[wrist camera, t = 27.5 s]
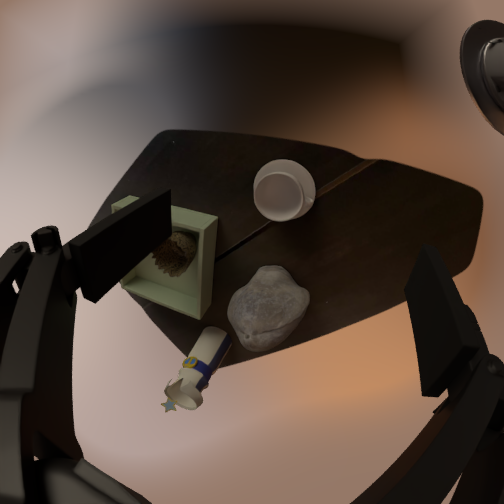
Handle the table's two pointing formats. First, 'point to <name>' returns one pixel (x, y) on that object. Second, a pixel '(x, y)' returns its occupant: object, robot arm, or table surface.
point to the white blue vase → (198, 369)
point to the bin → (188, 283)
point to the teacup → (283, 190)
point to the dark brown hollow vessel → (176, 253)
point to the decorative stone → (267, 308)
